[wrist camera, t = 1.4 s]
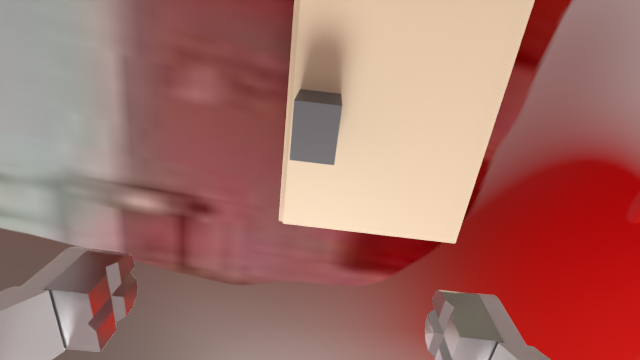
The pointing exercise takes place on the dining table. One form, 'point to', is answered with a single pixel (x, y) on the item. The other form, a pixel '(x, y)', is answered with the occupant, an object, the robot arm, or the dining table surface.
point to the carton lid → (396, 111)
